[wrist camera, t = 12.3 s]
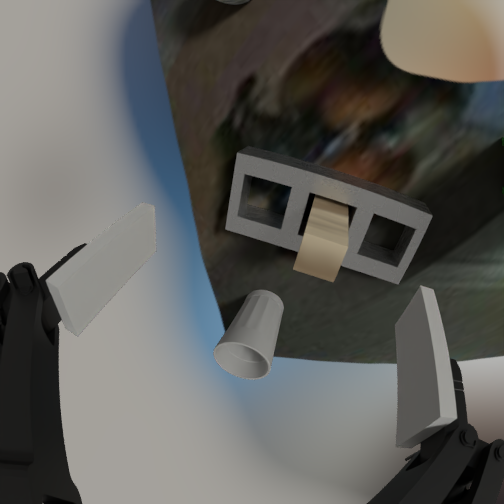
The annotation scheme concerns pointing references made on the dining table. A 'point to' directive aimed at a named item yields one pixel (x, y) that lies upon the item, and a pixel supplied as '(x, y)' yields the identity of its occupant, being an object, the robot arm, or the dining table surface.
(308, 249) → the peg
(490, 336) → the dining table surface
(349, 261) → the grey slotted block
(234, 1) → the camera lens
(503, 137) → the hardback book
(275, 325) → the cup
